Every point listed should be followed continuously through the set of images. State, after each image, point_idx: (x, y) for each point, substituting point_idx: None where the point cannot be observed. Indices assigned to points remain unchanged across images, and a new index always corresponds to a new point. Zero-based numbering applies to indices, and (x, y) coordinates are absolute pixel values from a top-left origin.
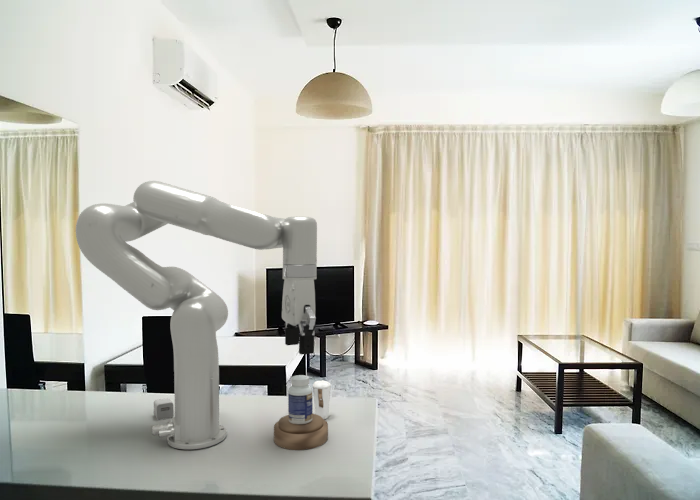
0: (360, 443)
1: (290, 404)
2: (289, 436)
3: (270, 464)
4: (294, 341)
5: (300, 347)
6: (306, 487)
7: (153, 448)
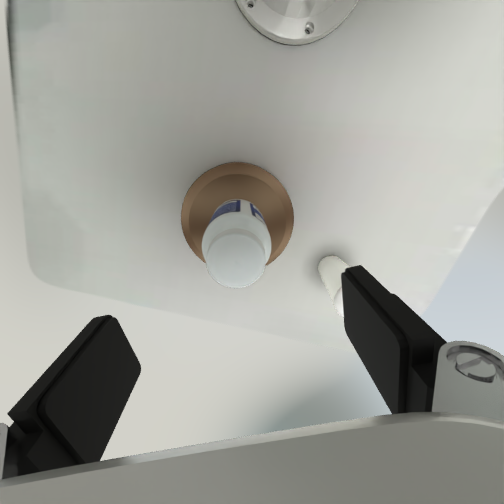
0: (198, 305)
1: (221, 210)
2: (187, 192)
3: (131, 146)
4: (350, 321)
5: (75, 344)
6: (45, 201)
7: None
